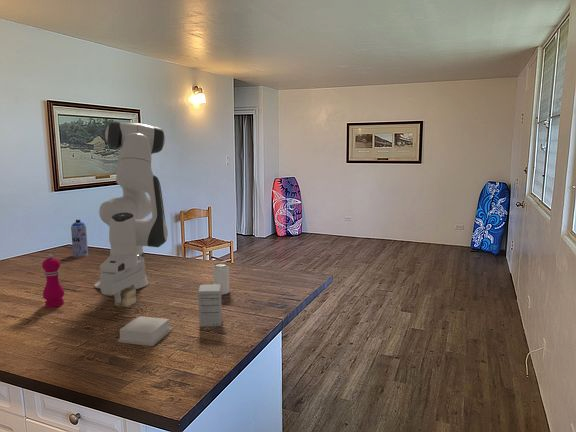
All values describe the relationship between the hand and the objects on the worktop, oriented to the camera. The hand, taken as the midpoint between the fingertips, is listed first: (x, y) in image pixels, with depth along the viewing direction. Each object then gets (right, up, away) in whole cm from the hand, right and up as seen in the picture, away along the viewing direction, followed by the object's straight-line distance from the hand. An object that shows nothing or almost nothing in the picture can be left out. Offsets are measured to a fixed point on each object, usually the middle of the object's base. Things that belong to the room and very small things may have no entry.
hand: (125, 299), depth 152 cm
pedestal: (+11, -10, -12) cm, 19 cm away
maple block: (0, -2, 0) cm, 2 cm away
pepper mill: (-33, -5, +15) cm, 37 cm away
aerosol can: (-59, +7, +91) cm, 109 cm away
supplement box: (+30, -8, -1) cm, 31 cm away
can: (+29, -3, +29) cm, 42 cm away
